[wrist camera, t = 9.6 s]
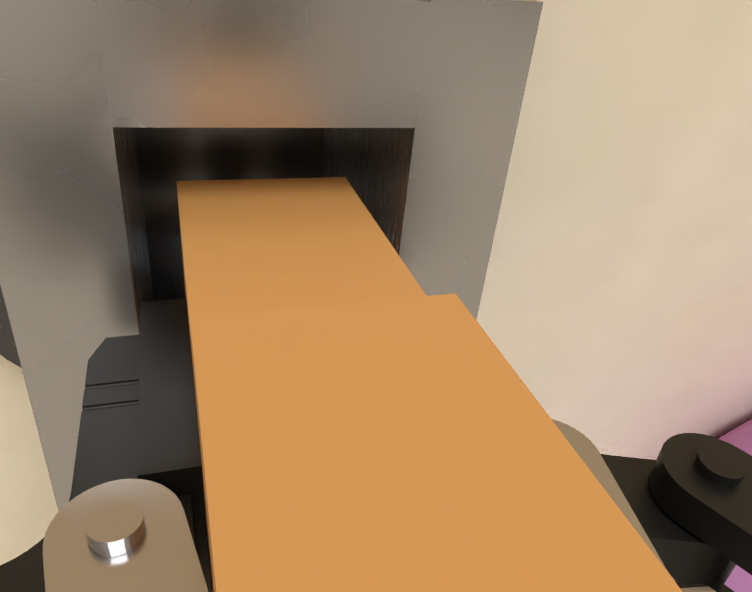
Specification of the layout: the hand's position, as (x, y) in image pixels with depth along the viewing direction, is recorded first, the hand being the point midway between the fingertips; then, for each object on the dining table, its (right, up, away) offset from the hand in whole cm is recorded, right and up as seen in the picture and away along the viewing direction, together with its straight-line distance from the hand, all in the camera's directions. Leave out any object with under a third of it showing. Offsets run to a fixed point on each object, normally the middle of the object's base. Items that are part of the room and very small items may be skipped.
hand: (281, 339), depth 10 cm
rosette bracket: (-3, 0, +9) cm, 9 cm away
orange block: (-1, +1, +2) cm, 2 cm away
